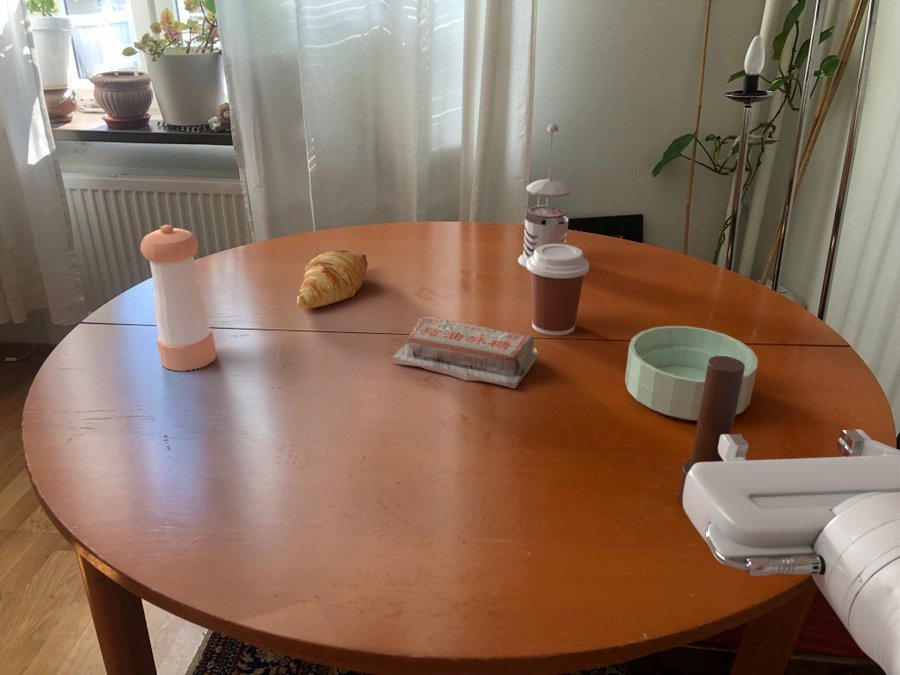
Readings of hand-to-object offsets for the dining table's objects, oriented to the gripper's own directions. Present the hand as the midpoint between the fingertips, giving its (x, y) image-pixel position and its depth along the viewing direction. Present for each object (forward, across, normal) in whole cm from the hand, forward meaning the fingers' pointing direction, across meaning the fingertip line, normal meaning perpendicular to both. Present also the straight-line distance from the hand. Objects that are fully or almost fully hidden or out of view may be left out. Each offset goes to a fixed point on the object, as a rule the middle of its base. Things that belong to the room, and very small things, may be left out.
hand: (788, 439), depth 57 cm
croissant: (+70, -42, -15) cm, 83 cm away
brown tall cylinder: (+12, 0, -16) cm, 20 cm away
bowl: (+34, +6, -16) cm, 38 cm away
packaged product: (+44, -22, -16) cm, 51 cm away
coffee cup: (+55, -7, -16) cm, 57 cm away
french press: (+84, -4, -16) cm, 85 cm away
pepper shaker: (+46, -60, -15) cm, 77 cm away
